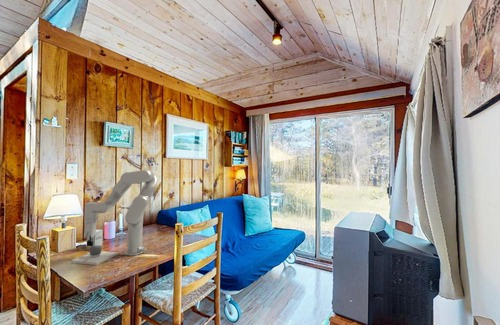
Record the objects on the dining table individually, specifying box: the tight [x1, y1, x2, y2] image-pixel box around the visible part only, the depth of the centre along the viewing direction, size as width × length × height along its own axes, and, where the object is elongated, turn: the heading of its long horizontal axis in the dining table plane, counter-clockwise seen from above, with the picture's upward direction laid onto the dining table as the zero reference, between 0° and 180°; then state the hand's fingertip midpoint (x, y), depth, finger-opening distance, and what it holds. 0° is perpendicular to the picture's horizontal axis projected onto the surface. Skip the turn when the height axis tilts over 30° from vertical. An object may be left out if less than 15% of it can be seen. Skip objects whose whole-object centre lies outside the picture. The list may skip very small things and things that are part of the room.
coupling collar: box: [78, 245, 102, 255], centre depth 157 cm, size 15×6×4 cm, turn 81°
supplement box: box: [93, 229, 104, 247], centre depth 178 cm, size 7×7×13 cm
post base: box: [70, 250, 118, 266], centre depth 155 cm, size 19×19×3 cm
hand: (89, 247), depth 161 cm, fingers closed
